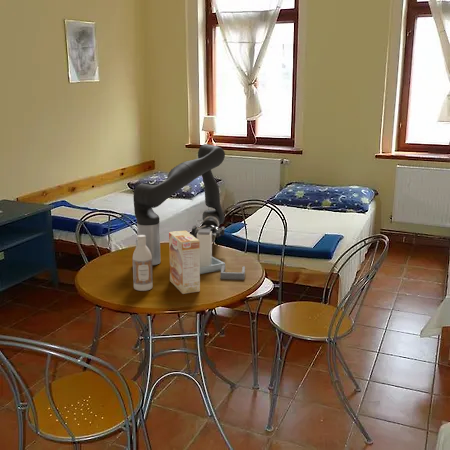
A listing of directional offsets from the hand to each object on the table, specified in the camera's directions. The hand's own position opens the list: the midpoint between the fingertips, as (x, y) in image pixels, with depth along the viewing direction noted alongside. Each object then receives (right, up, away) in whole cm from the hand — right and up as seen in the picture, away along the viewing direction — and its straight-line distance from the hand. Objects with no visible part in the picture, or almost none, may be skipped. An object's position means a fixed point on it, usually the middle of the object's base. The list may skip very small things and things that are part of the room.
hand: (207, 234), depth 233 cm
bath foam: (-22, -19, -31) cm, 43 cm away
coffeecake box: (-7, -19, -29) cm, 35 cm away
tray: (-2, -13, -8) cm, 16 cm away
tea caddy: (-1, -13, -8) cm, 15 cm away
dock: (+11, -16, -17) cm, 25 cm away
